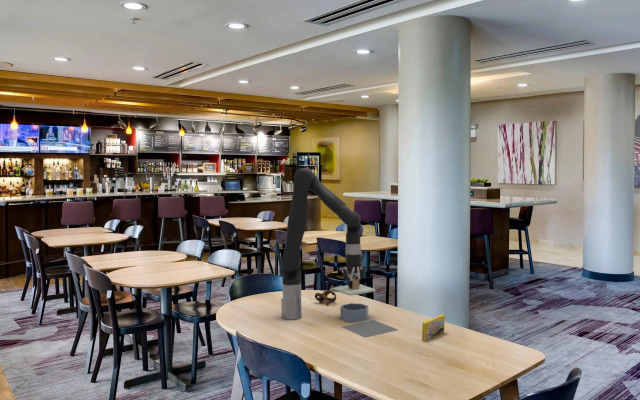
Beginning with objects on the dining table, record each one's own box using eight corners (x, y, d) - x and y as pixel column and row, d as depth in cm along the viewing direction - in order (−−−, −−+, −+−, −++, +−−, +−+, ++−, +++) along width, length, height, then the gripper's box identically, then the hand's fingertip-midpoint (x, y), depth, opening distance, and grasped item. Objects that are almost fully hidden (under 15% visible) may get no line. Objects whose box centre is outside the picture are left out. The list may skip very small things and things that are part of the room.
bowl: (351, 324, 252) (350, 311, 251) (336, 317, 263) (336, 306, 262) (373, 319, 258) (372, 307, 258) (357, 313, 269) (357, 302, 269)
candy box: (425, 342, 224) (425, 323, 224) (421, 341, 226) (421, 322, 225) (445, 332, 236) (444, 314, 236) (440, 332, 238) (440, 313, 237)
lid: (350, 295, 249) (349, 284, 249) (333, 289, 262) (332, 278, 262) (375, 291, 257) (375, 280, 257) (357, 285, 270) (357, 275, 270)
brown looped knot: (333, 301, 297) (337, 290, 293) (333, 313, 289) (337, 301, 285) (313, 296, 296) (316, 285, 292) (312, 308, 288) (315, 297, 284)
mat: (364, 338, 230) (364, 337, 230) (341, 327, 246) (341, 326, 246) (398, 331, 240) (398, 329, 240) (373, 321, 256) (373, 319, 256)
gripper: (360, 250, 265) (361, 284, 266) (337, 253, 258) (337, 288, 259) (369, 252, 259) (370, 286, 260) (345, 255, 252) (346, 290, 253)
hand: (353, 287), depth 259 cm, fingers closed on lid, 3 cm apart
